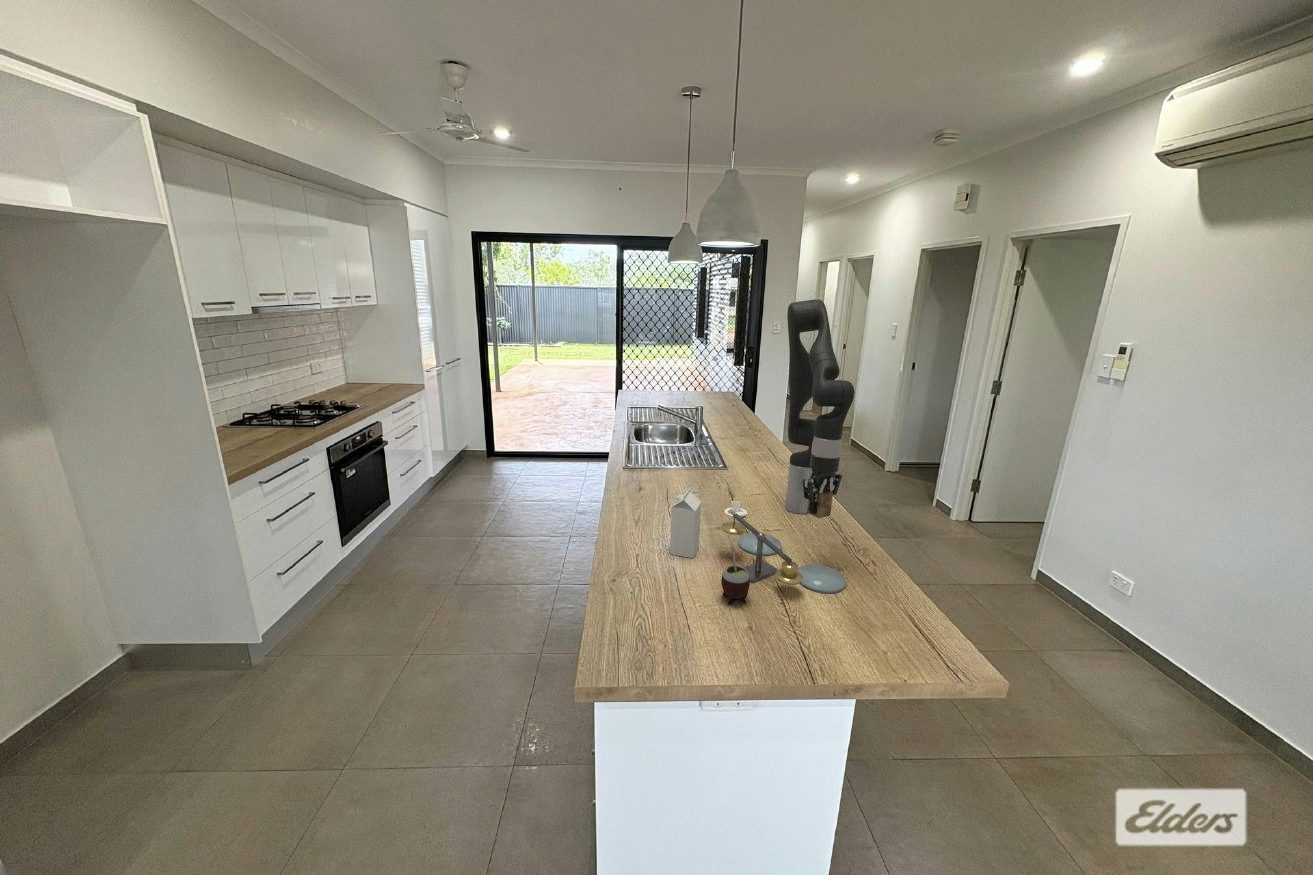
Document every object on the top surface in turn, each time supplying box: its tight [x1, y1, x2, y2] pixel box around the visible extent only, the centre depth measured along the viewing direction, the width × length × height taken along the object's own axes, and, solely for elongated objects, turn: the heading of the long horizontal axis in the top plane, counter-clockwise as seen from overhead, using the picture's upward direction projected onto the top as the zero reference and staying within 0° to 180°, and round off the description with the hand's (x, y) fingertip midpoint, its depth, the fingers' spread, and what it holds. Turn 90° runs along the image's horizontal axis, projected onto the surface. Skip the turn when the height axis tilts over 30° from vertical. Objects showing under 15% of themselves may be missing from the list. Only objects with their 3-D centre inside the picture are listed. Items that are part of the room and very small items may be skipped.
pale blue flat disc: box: [737, 532, 782, 557], centre depth 157 cm, size 13×13×1 cm
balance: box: [720, 513, 803, 586], centre depth 139 cm, size 10×28×14 cm, turn 33°
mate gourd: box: [720, 534, 751, 606], centre depth 127 cm, size 8×8×15 cm
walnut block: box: [806, 488, 834, 519], centre depth 143 cm, size 4×4×7 cm
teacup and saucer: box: [724, 500, 748, 518], centre depth 180 cm, size 9×8×4 cm
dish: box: [798, 563, 847, 595], centre depth 138 cm, size 13×13×1 cm
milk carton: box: [669, 487, 702, 559], centre depth 150 cm, size 7×7×19 cm
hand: (818, 511), depth 143 cm, fingers closed on walnut block, 4 cm apart
